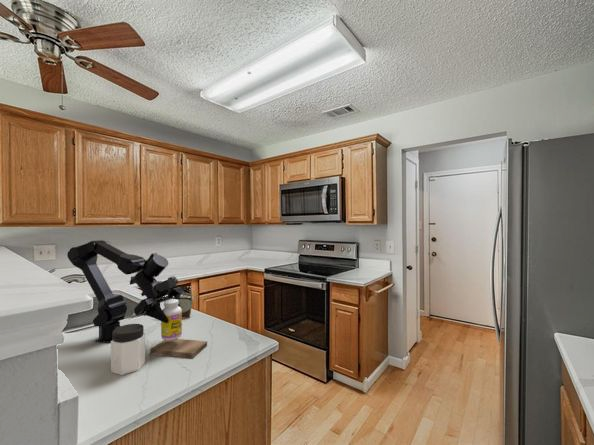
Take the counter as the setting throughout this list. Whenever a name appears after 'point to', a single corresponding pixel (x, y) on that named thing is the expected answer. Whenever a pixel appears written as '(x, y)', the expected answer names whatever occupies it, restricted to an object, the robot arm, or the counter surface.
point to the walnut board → (179, 348)
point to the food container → (186, 304)
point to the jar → (127, 349)
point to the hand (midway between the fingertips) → (174, 318)
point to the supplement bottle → (172, 320)
